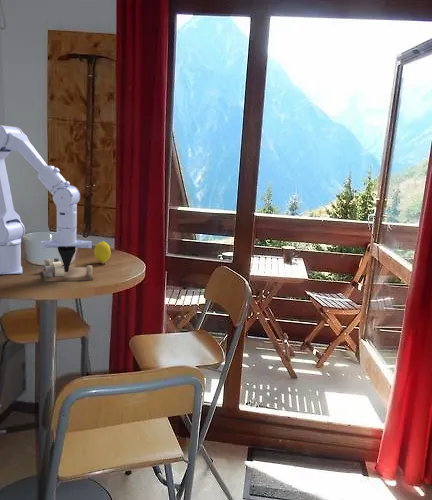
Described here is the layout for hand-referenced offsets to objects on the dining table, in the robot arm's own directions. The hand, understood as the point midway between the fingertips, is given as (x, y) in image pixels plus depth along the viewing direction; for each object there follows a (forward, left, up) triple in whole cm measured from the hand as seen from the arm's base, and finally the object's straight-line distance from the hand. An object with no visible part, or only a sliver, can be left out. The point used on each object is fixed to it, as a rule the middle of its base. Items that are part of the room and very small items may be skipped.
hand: (66, 271), depth 148 cm
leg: (-2, +3, -1) cm, 4 cm away
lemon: (+14, +18, -2) cm, 23 cm away
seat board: (+1, +3, -2) cm, 4 cm away
